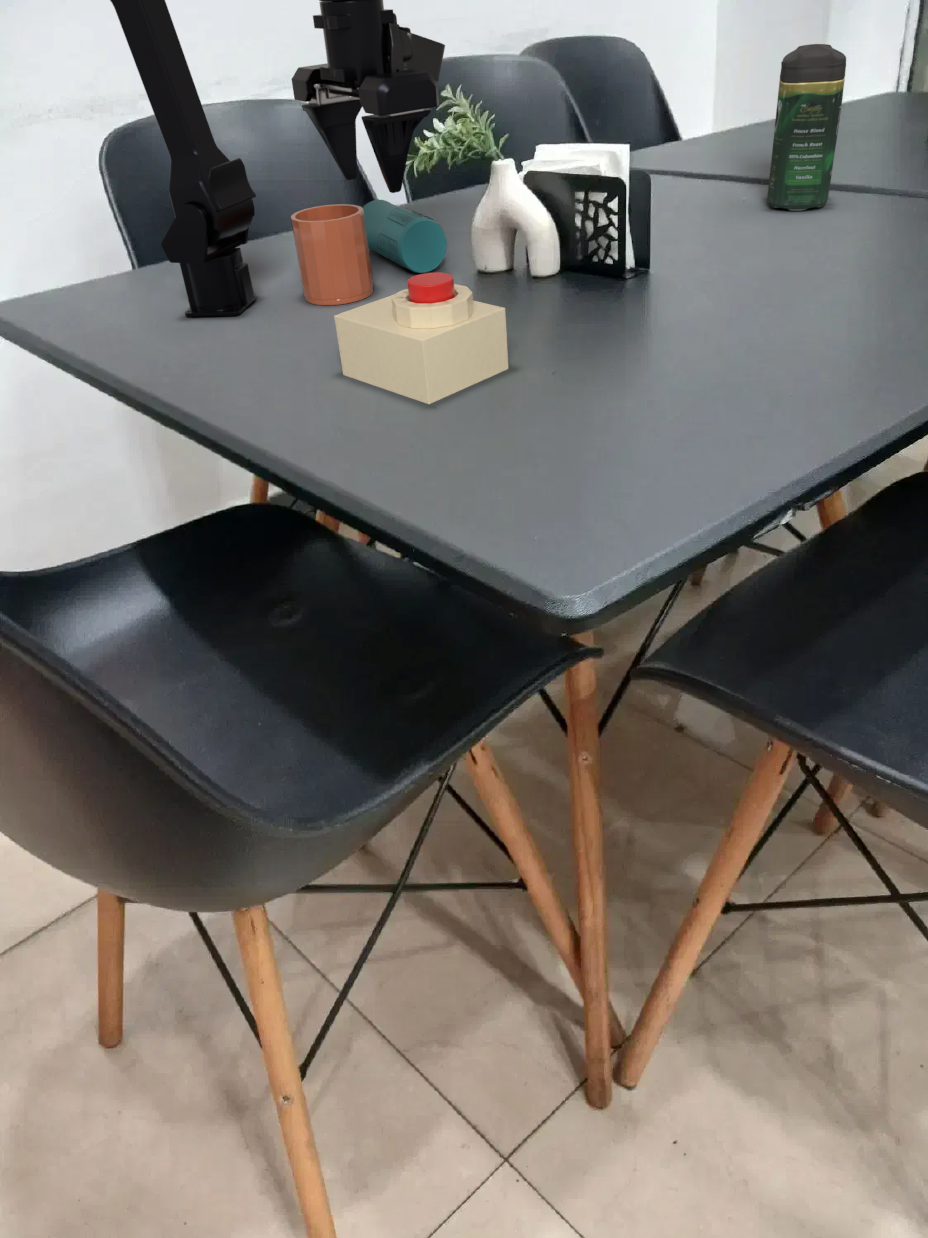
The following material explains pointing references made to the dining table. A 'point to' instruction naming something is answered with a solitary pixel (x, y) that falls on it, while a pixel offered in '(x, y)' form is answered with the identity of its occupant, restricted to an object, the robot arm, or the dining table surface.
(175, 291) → the dining table surface
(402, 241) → the beverage bottle
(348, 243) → the terracotta cup
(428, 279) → the power button
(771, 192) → the coffee jar
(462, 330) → the red push button box
